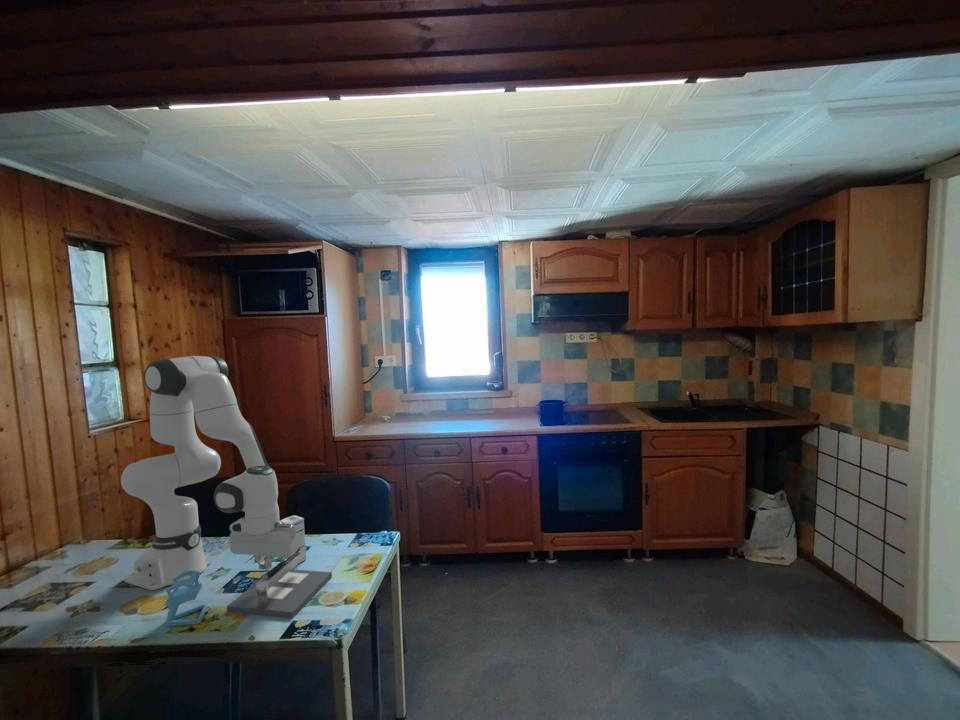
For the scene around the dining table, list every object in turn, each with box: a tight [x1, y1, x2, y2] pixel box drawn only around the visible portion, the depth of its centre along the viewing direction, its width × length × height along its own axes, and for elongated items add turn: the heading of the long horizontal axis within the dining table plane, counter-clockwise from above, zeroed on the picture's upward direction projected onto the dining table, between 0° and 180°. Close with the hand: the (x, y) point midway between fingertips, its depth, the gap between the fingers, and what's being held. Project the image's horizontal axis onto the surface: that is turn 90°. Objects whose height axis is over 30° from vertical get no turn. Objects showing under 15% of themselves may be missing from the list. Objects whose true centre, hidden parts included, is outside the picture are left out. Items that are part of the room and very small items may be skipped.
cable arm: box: [255, 548, 305, 595], centre depth 117 cm, size 3×19×4 cm, turn 170°
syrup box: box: [280, 514, 307, 563], centre depth 135 cm, size 6×6×14 cm
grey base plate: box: [226, 568, 333, 619], centre depth 117 cm, size 20×19×5 cm
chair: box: [164, 571, 208, 627], centre depth 107 cm, size 8×8×12 cm
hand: (265, 568), depth 119 cm, fingers closed
